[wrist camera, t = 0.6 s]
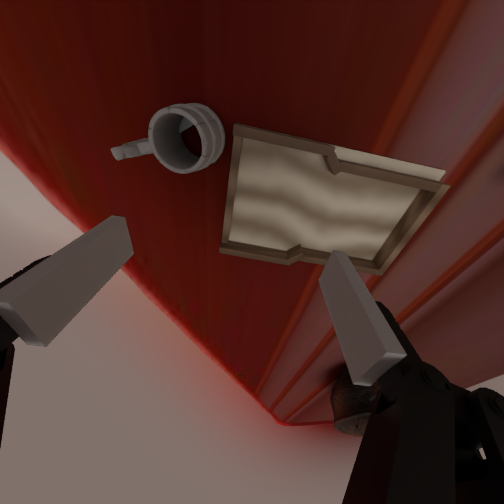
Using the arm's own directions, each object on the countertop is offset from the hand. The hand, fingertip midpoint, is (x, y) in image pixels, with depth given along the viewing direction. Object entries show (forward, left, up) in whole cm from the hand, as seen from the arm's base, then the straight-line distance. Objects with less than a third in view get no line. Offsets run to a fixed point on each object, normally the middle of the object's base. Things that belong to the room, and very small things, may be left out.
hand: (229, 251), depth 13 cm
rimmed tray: (+4, +13, -23) cm, 27 cm away
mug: (-3, -10, -23) cm, 25 cm away
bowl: (+57, +49, -23) cm, 79 cm away
